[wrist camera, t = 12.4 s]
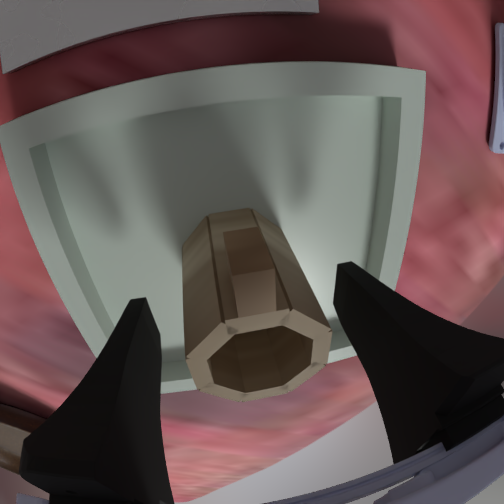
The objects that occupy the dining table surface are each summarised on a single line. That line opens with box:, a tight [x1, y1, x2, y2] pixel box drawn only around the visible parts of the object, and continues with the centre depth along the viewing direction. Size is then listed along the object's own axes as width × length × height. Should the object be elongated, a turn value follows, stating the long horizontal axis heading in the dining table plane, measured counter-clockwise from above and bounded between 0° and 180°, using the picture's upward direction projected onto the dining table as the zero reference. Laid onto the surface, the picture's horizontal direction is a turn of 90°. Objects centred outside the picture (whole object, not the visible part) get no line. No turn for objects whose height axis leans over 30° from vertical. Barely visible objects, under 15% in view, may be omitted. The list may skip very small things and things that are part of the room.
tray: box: [0, 61, 426, 393], centre depth 14 cm, size 16×16×2 cm
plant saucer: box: [0, 404, 47, 475], centre depth 22 cm, size 21×21×3 cm
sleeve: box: [182, 208, 333, 402], centre depth 12 cm, size 4×6×6 cm
